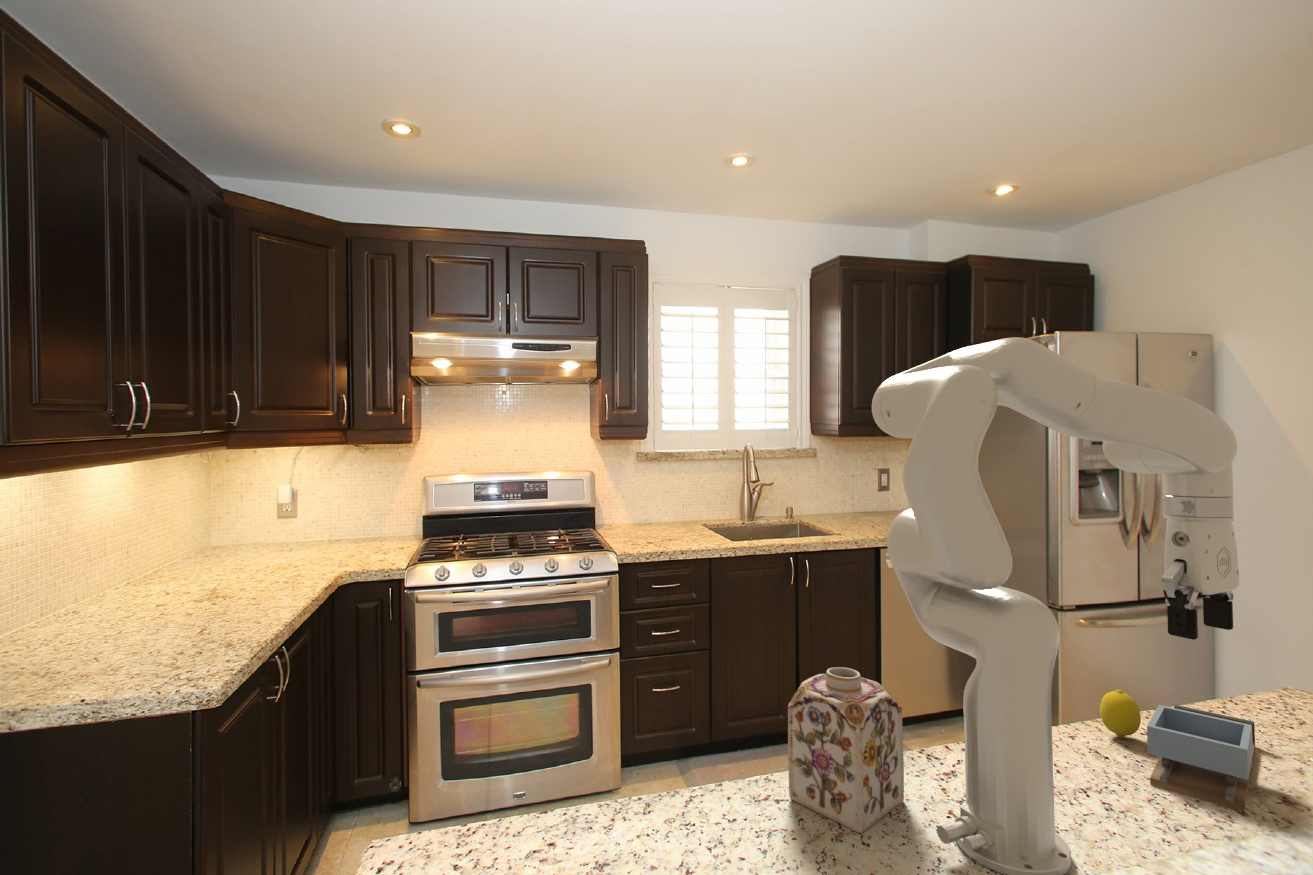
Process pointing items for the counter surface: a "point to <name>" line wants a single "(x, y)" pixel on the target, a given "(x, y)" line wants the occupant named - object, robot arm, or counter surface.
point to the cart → (1201, 742)
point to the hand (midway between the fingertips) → (1200, 631)
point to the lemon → (1120, 713)
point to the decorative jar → (845, 748)
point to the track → (1204, 776)
